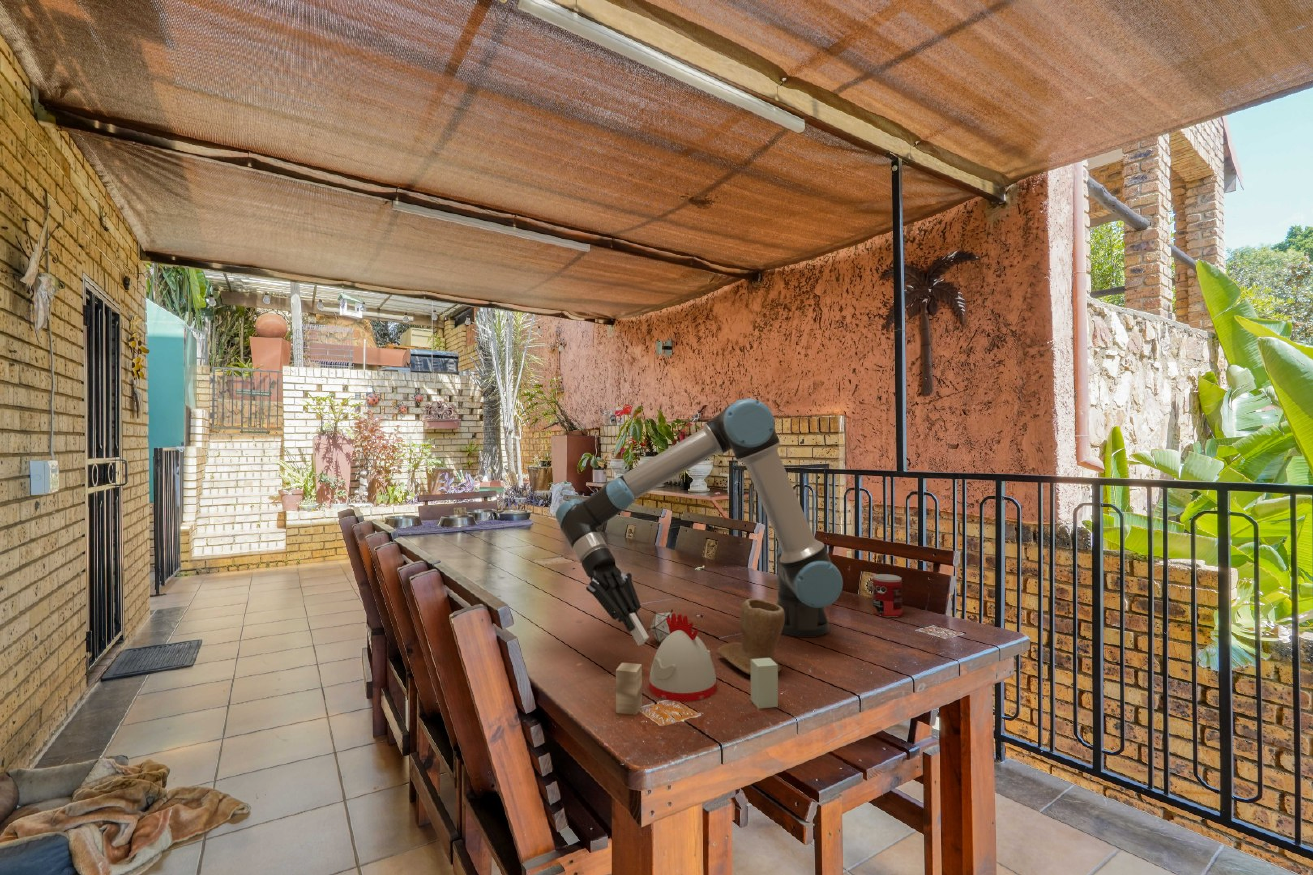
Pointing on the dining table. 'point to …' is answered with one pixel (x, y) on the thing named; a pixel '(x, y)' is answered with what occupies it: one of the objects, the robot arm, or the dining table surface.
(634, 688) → the birch block
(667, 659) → the kitchen timer
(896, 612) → the canned food
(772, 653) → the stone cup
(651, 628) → the game die
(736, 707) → the dining table surface
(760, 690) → the sage block
